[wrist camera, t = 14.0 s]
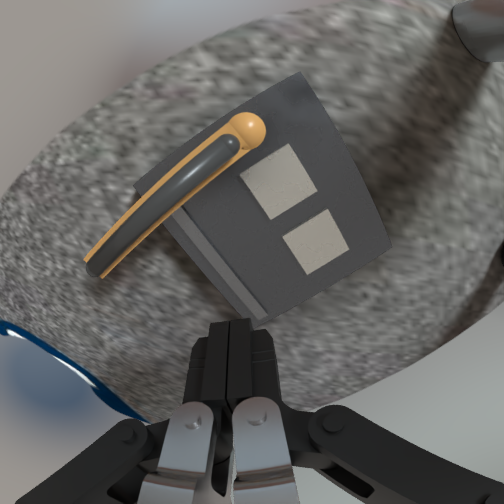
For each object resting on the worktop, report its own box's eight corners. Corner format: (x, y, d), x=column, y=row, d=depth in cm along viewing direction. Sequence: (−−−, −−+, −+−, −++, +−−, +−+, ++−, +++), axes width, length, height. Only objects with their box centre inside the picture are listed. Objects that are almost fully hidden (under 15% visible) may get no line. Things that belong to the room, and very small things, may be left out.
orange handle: (266, 132, 22) (276, 135, 16) (123, 253, 26) (96, 289, 20) (247, 109, 21) (250, 102, 15) (105, 234, 25) (74, 267, 19)
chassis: (293, 76, 23) (301, 70, 20) (380, 236, 30) (394, 248, 27) (142, 178, 26) (131, 186, 23) (251, 313, 34) (253, 331, 31)
